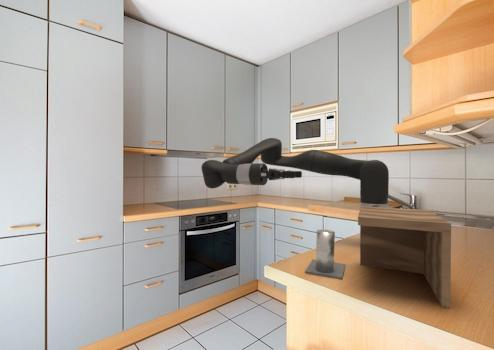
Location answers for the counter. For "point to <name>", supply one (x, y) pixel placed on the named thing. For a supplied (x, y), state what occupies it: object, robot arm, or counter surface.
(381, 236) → the walnut desk
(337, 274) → the rubber mat
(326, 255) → the steel tin
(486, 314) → the counter surface
